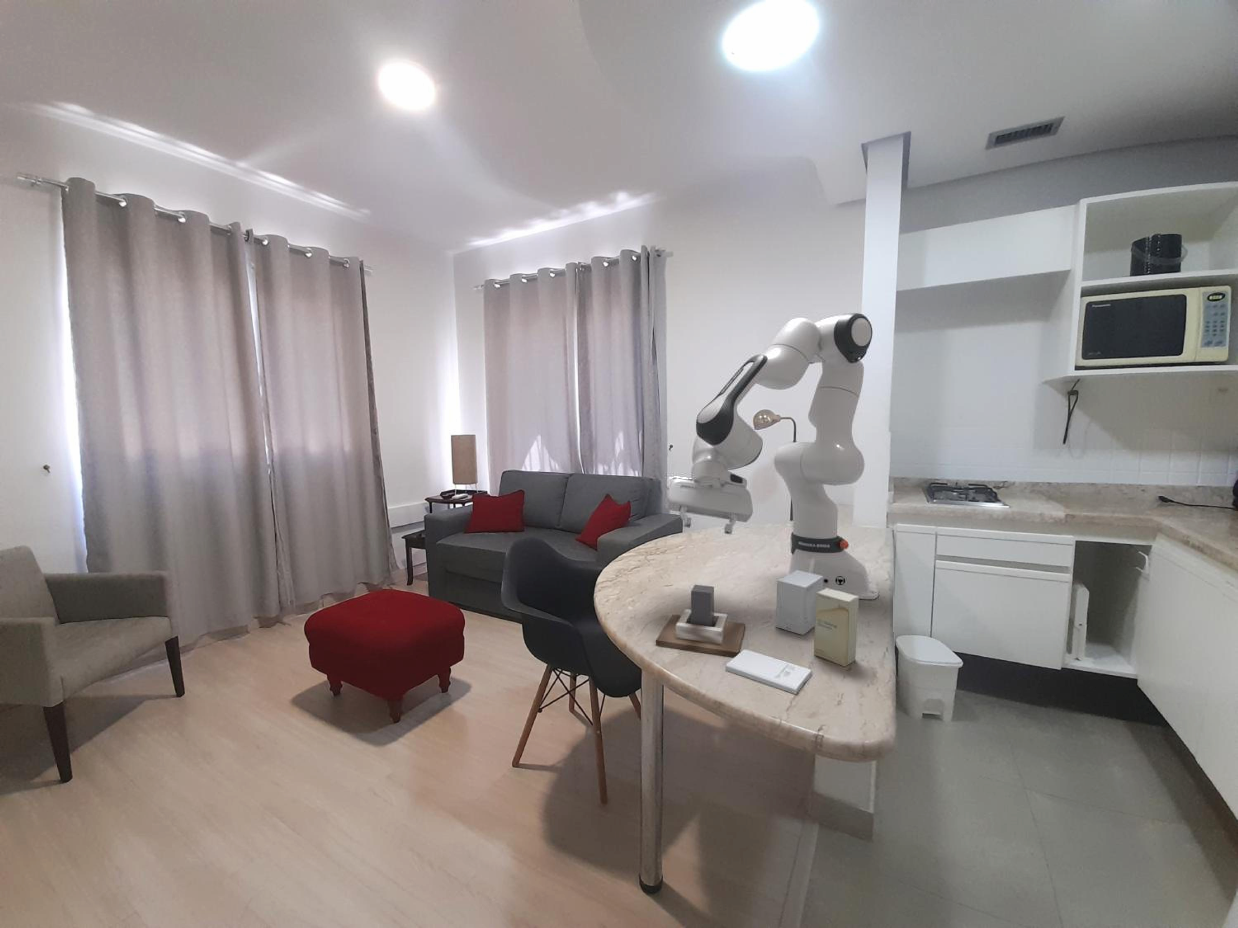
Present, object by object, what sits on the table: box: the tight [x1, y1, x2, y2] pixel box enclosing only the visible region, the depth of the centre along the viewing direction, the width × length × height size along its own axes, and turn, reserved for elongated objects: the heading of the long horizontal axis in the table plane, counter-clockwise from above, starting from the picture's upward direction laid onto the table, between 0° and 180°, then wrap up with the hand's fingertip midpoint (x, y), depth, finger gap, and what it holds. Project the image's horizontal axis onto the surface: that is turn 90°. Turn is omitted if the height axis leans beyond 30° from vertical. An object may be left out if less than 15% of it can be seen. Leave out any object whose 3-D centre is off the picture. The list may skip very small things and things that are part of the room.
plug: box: [690, 584, 715, 627], centre depth 97 cm, size 4×4×9 cm
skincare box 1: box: [774, 570, 823, 636], centre depth 103 cm, size 10×6×10 cm, turn 137°
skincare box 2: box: [813, 588, 860, 667], centre depth 88 cm, size 6×4×12 cm
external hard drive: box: [725, 649, 813, 695], centre depth 83 cm, size 2×8×12 cm
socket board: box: [655, 608, 746, 658], centre depth 97 cm, size 16×14×4 cm
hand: (707, 529), depth 107 cm, fingers open, 8 cm apart
